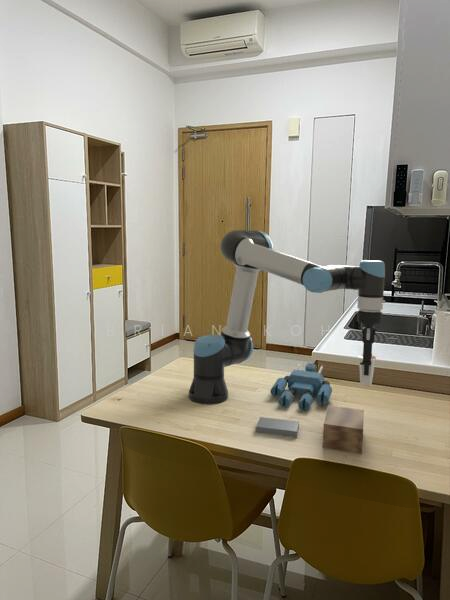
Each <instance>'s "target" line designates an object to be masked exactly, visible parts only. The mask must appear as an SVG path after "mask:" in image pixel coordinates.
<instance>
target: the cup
mask: <svg viewBox="0 0 450 600" xmlns="http://www.w3.org/2000/svg"><path fill="white" fill-rule="evenodd" d="M376 359H377V357H376V356H374V355H372V356H371V379H370V385H364V386H365V387H370V386H372V385H373V384H372V383H373V378H374V371H375V366H376ZM362 361H363V354H361V355H358V364H359V365H358V367H359V368H358V369H359V383H360V385H361V377H362V365H360V363H362Z"/></svg>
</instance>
